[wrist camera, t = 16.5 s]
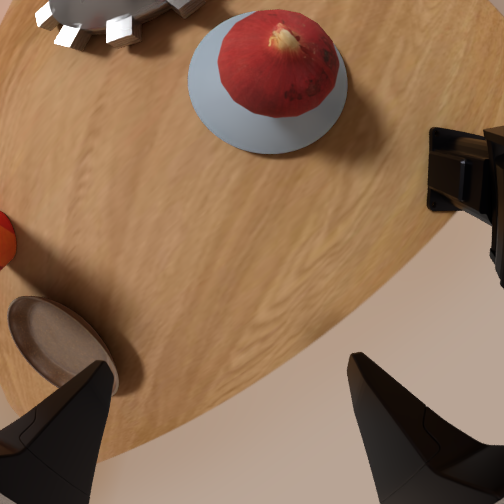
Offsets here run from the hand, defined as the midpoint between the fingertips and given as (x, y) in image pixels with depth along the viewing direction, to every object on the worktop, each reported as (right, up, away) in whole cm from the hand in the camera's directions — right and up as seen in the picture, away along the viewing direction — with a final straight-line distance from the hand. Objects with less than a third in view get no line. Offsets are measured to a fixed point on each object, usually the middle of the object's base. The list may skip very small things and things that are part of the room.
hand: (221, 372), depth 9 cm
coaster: (+2, +15, +6) cm, 17 cm away
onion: (+2, +15, +6) cm, 16 cm away
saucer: (-19, -6, +16) cm, 26 cm away
